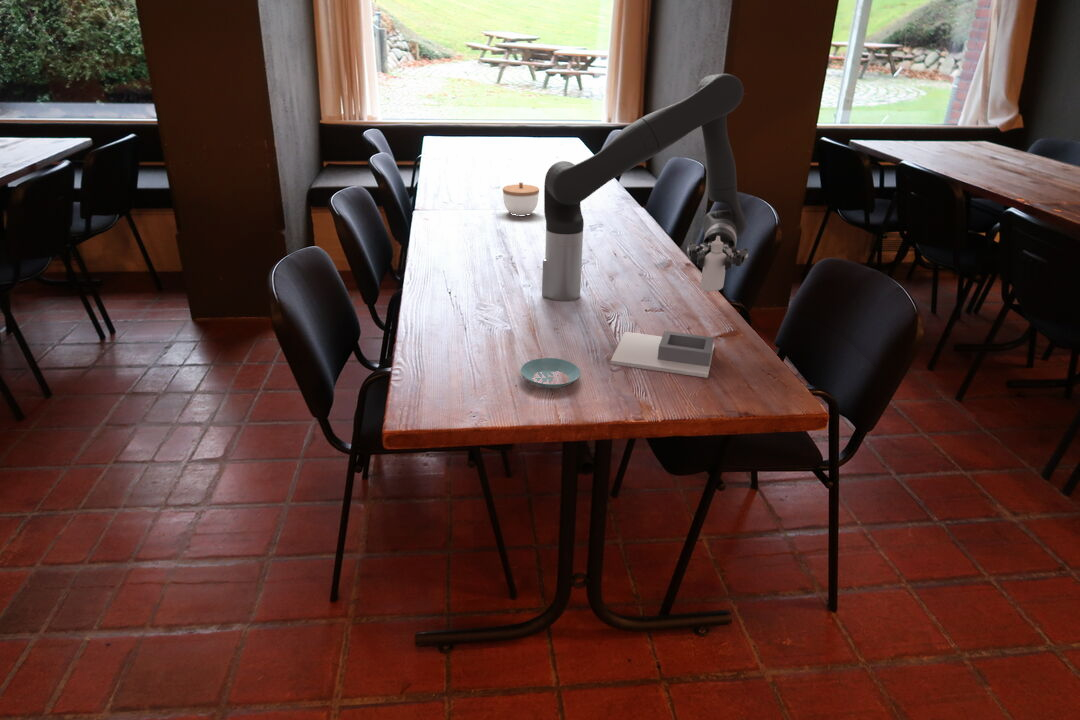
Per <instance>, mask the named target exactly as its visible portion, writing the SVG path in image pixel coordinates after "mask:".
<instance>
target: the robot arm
mask: <svg viewBox="0 0 1080 720" xmlns="http://www.w3.org/2000/svg"><path fill="white" fill-rule="evenodd" d="M743 85H744V84H743V83H742V81H741V80H740V79H739V78H738V76H737V77H736V76H735V75H734V74H730V73H715V74H709V75H707V76H705V77H704V78H702V79H701V80H700V82H698V84H697V86H696V90H695V92H694V93H692V94H691V95H689V96H688V97H686V98H684V99H682V100H681V101H678V102H676V103H674V104H671V105H668V106H665V107H662V108H659V109H657V110H656V111H653V112H651V113H648V114H646V115H644V116H643V117H640V118H639V119H636V120H635V121H633V122H632V123H630V124H629V125H627V126H625V127H624V128H623V129H621V130H620V131H619V132H618V133H617V134H615V136H614V137H612V139H611V140H610V141H609V142H608V143H607V144H606V145H605V146H604V147H603V148H602V149H601V150H600V151H598V152H597V153H596V154H594V155H592V156H591V157H589V158H587V159H585V160H583V161H581V162H579V163H575V164H574V163H572V162H570V161H566V160H563V161H558V162H556V163H554V164H552V165H551V166H550V167H549V169H548V170H547V172H546V174H545V178H544V187H543V188H544V191H543V192H544V194H543V195H544V199H543V201H544V203H543V204H544V205H543V208H544V209H543V210H544V212H543V213H544V219H545V254H544V255H545V258H544V259H543V260H542V277H541V279H542V281H541V283H542V285H541V297H545V298H547V299H550V300H554V301H562V302H564V301H565V302H567V301H574V300H576V299H579V298H580V296H581V290H582V289H581V287H582V286H581V285H582V284H581V283H582V268H583V267H582V263H583V261H582V260H583V241H584V226H585V225H584V218H583V217H584V216H583V213H582V210H581V209H582V208H581V202H583V201H585V200H586V199H587V198H589V197H590V196H591V195H593V194H594V193H595V192H596V191H597V190H599V189H600V188H602V187H603V186H605V185H606V184H607V183H609V182H611V181H612V180H614V179H616V178H617V177H619V176H620V175H622V174H625V173H627V172H628V171H630V170H631V169H633V168H635V167H636V166H638V165H640V164H642V163H644V162H646V161H648V160H649V159H651V158H653V157H655V156H656V155H658V154H659V153H661V152H663V151H664V150H666V149H668V148H669V147H670V146H673V144H675V143H676V142H678V141H679V140H681V139H683V138H685V137H686V136H687V135H689V134H690V133H691V132H693V131H694V130H696V129H698V128H700V127H701V130H702V137H703V143H704V153H705V160H706V162H705V163H706V175H707V176H706V177H707V194H708V199H709V201H711V202H714V203H721V204H725V205H727V206H728V207H729V209H724V210H714V211H709V212H707V213H706V214H705V215H704V217H703V220H702V229H703V233H704V237H703V241H702V243H700V244H699V245H698V246H697V245H696V244H695V243H693V242H688V243H687V251H686V255H687V256H688V258H689V260H690V261H691V262H696V265H697V266H699V268H703V263H704V258H705V256H706V255H707V254H708V253H710V252H711V245H712V242H713V241H715V240H716V237H717V236H720V241H721V242H723V249H722V252H723V253H725V254H726V255H727V258H726V264H725V271H729V269H732V267H733V265H734V266H735V267H741V266H742V265H743V264H744V263H746V262H747V261H748V257H749V251H750V250H749V248H746V247H745V248H743V249H740V250H738V249H737V238H740V237H742V235H744V233H745V231H746V227H747V221H746V219H745V218H746V217H745V215H744V213H743V210H742V207H741V204H740V200H739V196H738V184H737V182H738V181H737V169H736V168H737V167H736V161H735V157H734V153H733V150H732V147H731V144H730V139H729V134H728V125H727V124H728V123H727V121H728V120H727V117H728V114H729V113H732V112H734V111H735V109H736V108H737V107H739V105H740V104H741V102H742V101H743V97H744V90H745V89H744V86H743Z"/></svg>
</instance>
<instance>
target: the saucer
mask: <svg viewBox="0 0 1080 720" xmlns="http://www.w3.org/2000/svg"><path fill="white" fill-rule="evenodd" d="M556 371H559V372H563V373H564V374H566V375H567V376H568V377H569V382H568V383H564V384H554V383H553V384H543V382H546V381H547V379H549V383H550V382H551V381H552V380H553V378H554V377H548V374H549V375H551V376H553V374H552V373H551V372H556ZM520 372H521V375H522V376H523V377H524V378H525V379H526V380H527V381H529V382H530V383H531V384H533V385H535V386H538V387H541V388H546V389H558V387H559V388H562V387H563V388H564V387H565V386H568V385H570V384H571V383H574V382H575V381H576V380H577V379H579V377H580V376H581V369H580V367H578V366H577V365H576V364H574V363H573V362H571V361H570V360H569V361H568V360H566V359H562V358H557V357H541V358H535V359H531V360H528V361H526V362H525V363H523V365H522V366H521V367H520ZM537 372H538V375H539V376H540V377H541V378H542V374H543V375H544V376H545V377H546V378H542V380H543V381H542V383H538V382H534V381H533V380H532V378H534V377H533V376H534V374H535V373H537ZM540 372H542V374H541V373H540ZM547 373H548V374H547ZM557 376H558V375H557ZM541 378H535V379H537V381H539V380H540V379H541Z"/></svg>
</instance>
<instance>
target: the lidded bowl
mask: <svg viewBox="0 0 1080 720" xmlns="http://www.w3.org/2000/svg"><path fill="white" fill-rule="evenodd" d="M539 193H540V188H539V187H538V186H535V185H531V184H524V182H522V181H521V182H519V183H518V184H509V185H505V186H504V187H503V188H502V195H503V196H502V197H503V199H502V200H503V204H504V206H505V209H506V210H507V212H509V214H511V213H512V214H516V215H527V214H531V215H532V213H533V212H534V211H535V210H536V208H537V206H538V203H539Z"/></svg>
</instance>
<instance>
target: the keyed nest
mask: <svg viewBox="0 0 1080 720" xmlns="http://www.w3.org/2000/svg"><path fill="white" fill-rule="evenodd" d="M714 339H715V337H713V336H706V335H700V334H699V335H697V334H693V333H692V334H690V333H683V332H676V331H668V330H664V332H663V334H662V336H660V335H654V334H646V333H638V332H629V331H624V333H623V335H622V337H621V338H620V341H619V342H618V345H617V347H616V349H615V351H614V353H613V355H612V357H611V360H610V364H611V365H615V364H616V365H615V366H624V367H630V368H638V369H642V370H643V369H645V370H650V371H651V370H652V371H657V372H664V373H665V372H666V373H671V374H677V375H678V374H679V375H685V376H693V377H700V378H705V379H708V378H709V373H710V368H711V364H712V358H713V355H714V354H713V353H714V349H715V343H714Z"/></svg>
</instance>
